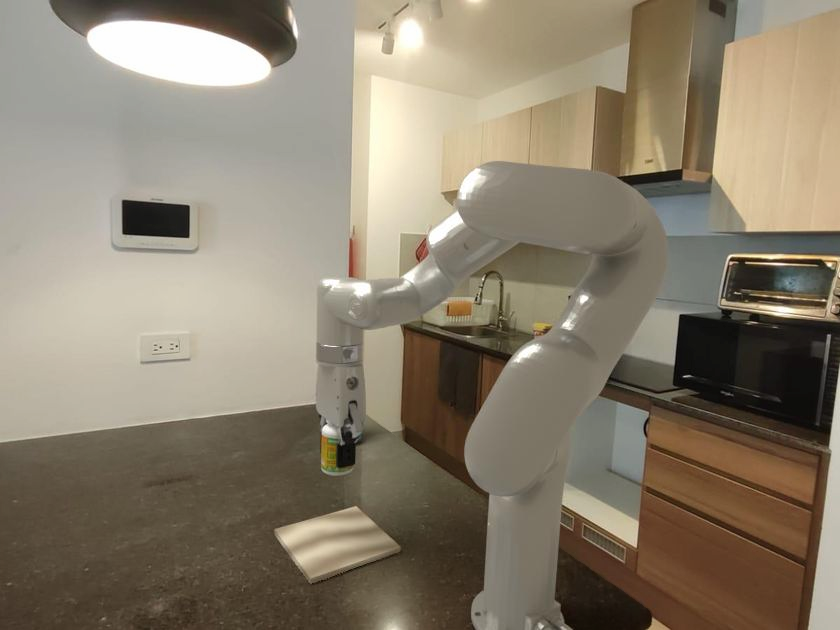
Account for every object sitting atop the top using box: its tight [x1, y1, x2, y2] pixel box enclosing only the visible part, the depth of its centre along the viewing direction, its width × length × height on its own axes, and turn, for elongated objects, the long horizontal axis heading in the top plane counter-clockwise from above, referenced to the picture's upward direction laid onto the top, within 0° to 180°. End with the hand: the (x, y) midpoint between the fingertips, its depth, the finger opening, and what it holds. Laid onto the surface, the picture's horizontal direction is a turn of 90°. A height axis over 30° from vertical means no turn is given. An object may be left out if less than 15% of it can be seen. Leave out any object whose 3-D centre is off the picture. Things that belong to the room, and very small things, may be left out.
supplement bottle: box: [320, 419, 354, 477], centre depth 86 cm, size 5×5×10 cm
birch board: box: [273, 505, 402, 585], centre depth 88 cm, size 16×16×1 cm
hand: (337, 458), depth 86 cm, fingers closed on supplement bottle, 5 cm apart
